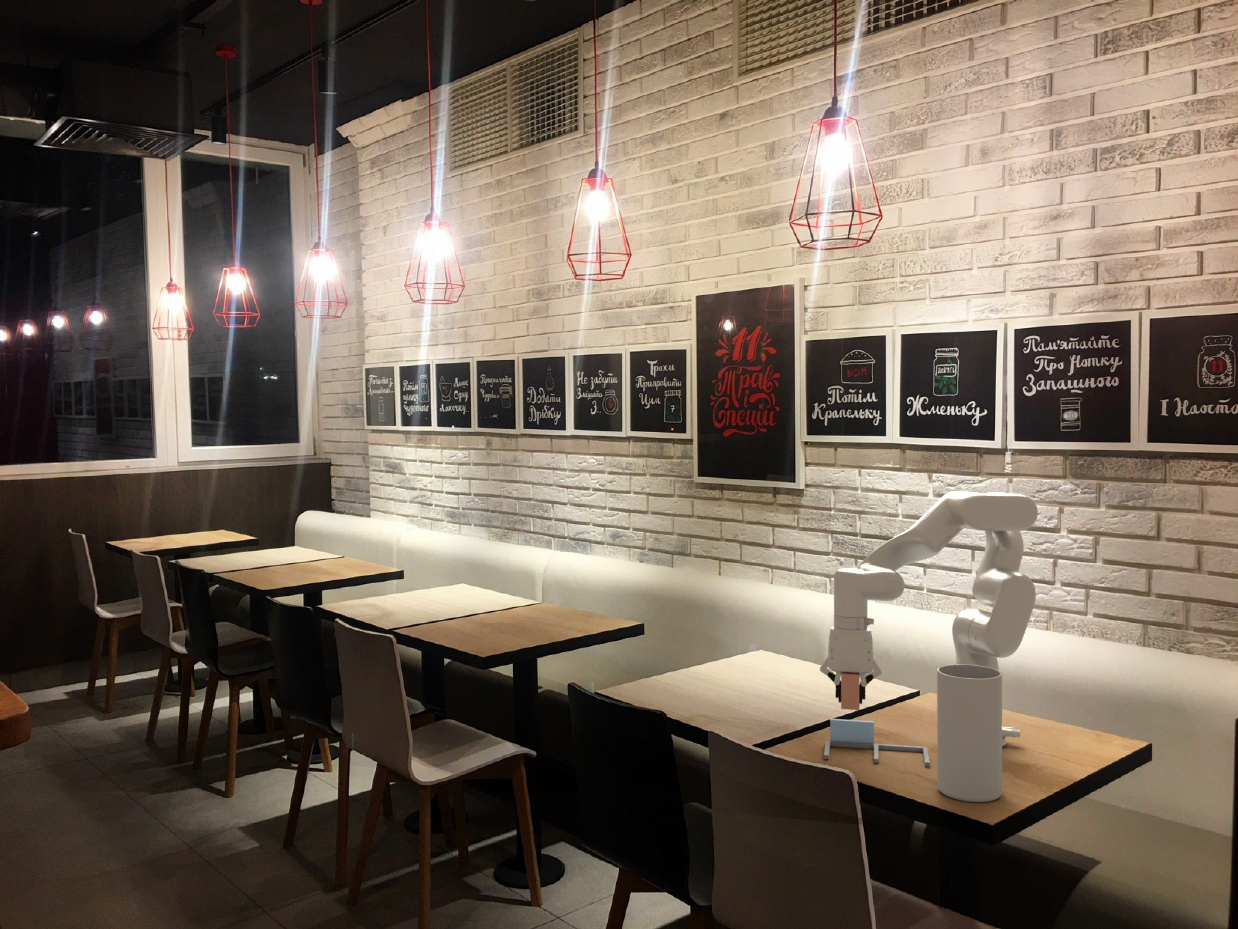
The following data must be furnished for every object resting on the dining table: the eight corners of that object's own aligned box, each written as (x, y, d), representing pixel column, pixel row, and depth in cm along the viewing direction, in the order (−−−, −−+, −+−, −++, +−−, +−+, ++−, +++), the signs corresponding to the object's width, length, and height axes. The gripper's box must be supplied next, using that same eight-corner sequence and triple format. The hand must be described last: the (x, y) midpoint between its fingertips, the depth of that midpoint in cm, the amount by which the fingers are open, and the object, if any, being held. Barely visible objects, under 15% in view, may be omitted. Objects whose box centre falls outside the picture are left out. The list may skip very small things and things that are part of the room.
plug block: (859, 704, 225) (859, 670, 225) (859, 710, 220) (859, 675, 220) (841, 703, 226) (841, 669, 226) (841, 709, 221) (841, 674, 221)
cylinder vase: (1012, 791, 199) (1012, 670, 198) (986, 808, 190) (985, 682, 190) (954, 777, 208) (953, 661, 207) (926, 793, 199) (926, 672, 198)
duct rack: (927, 750, 226) (926, 724, 226) (929, 767, 214) (929, 740, 214) (826, 743, 232) (826, 718, 231) (823, 759, 220) (823, 733, 220)
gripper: (888, 621, 224) (887, 700, 225) (814, 618, 228) (814, 695, 229) (888, 627, 217) (888, 708, 217) (812, 624, 221) (812, 703, 222)
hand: (850, 701), depth 223 cm, fingers closed on plug block, 4 cm apart
